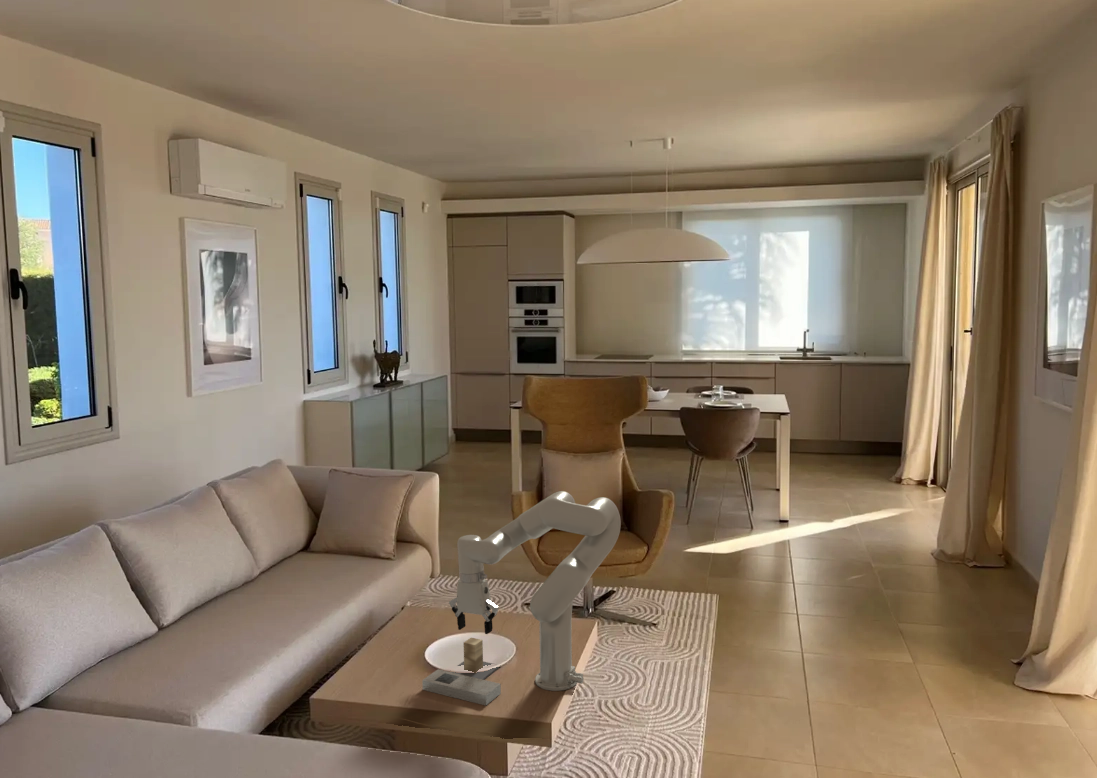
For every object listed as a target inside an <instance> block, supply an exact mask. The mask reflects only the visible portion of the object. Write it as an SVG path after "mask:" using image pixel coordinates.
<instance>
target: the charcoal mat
mask: <svg viewBox="0 0 1097 778" xmlns="http://www.w3.org/2000/svg"><path fill="white" fill-rule="evenodd" d="M491 664H494V663H492V662H488V661H487V662H486V661H483V666H485V665H487V666H488V665H491ZM461 665H464V660H463V661H462V662H461V663H459V664H457V666H461ZM498 668H499V667H496V668H492V669H490V670H488V671H484V672H477V673H456V672H455V673H456V674H461V675H465V676H469V677H474V678H478V679H482V680H487V679H488V678H489V677H490V676H491V675H492V674H494V673H495V672H496V671H497V670H499V669H500V668H499V669H498ZM452 673H454V672H452Z"/></svg>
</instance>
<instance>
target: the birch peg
mask: <svg viewBox="0 0 1097 778" xmlns="http://www.w3.org/2000/svg"><path fill="white" fill-rule="evenodd" d="M483 646H484V644H483V639H479V638H474V637H469V638H468V639H467V640H465V641H463V661H464V670H468V671H472V672H474V673H476V672H477V671H478V670H479V669H481V668H483V662H484V659H483V658H484V653H483V652H484V651H483V650H484V649H483Z"/></svg>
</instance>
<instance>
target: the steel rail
mask: <svg viewBox="0 0 1097 778" xmlns="http://www.w3.org/2000/svg"><path fill="white" fill-rule="evenodd" d="M421 684H422V690H423V691H426V692H431V693H433V694H438V695H442V696H446V697H450V698H453V699H457V700H463V701H466V702H469V703H474V704H479V705H483V706H488V705H489V704H490V703H491V702H492V701H493V700H495V699H496V698H497V697H499V696H500V695H501V693H502V692H501V691H502V690H501V689H502V688H501V685H502V684H501V683H499V682H495V681H491V680H487V679H485V680H482V679H478V678H474V677H469V676H465V675H461V674H456V673H452V672H449V671H448V670H443V669H439V668H438V669H436V670H434V671H433V672H432V673H430V674H429V675H428V676H426V677H425V678H423V679H422V683H421Z"/></svg>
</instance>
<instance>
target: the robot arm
mask: <svg viewBox="0 0 1097 778" xmlns="http://www.w3.org/2000/svg"><path fill="white" fill-rule="evenodd" d="M621 523H622V521H621V516H620V511H619V509H618V507H617V505H616V504H615V503H614V501H613V500H611V499H610V498H608V497H603V496H602V497H597V498H594V499H592V500H591V501H590V502H588V503H587V504H586V505H585V504H579V503H576V500H575V498H574V497H573V495H572V494H570V493H569V492H567V491H564V490H560V491H557V492H554V493H551V495H549V496H547V497H546V498H544V499H542V500H540V501H539V502H538V503H537V504H535V505H533V506H532V507H530V508H529V509H527V510H526V511H523V512H522V513H521V514H519V515H518V517H516V518H515V519H513V520H511V521H510V522H508V523H507V524H505V525H504V526H502V527H500V529H498V530H496V531H495V532H493V533H492V534H490V535H489V536H488V537H486V538H483V539H482V538H481V536H479V535H476V534H467V535H466V534H465V535H462V536H460V537H459V538H458V539H457V543H456V545H457V557H458V558H457V561H458V572H459V573H458V574H459V578H458V582H457V586H456V587H457V588H456V597H454V598H453V599H451V600H449V601H448V603H449V605H450V607H451V611H452V612H453V613H454V616H455V617H456V621H457V623H456V624H457V630H459V631H460V630H463V629H464V628H465V627H466V614H465V613H467V614H473V615H479V616H482V617H483V618H484V620H485V621H484V624H483V625H484V626H483V627H484V634H485V635H488V634H489V633H491V632H492V631H493V627H494V626H493V619H494V618H495V617H496V616H497V614H498V611H499V609H500V607H499V606H498V605H496V604H495V603H494V602H492V598H491V592H490V591H491V590H490V587H489V583H488V580H487V579H488V574H486V573H485V567H484V564H485V565H494V564H497V563H499V562H500V561H501V560H502V559H503V558H504V557H505V556H506V555H508V554H509V553H510V552H512V550H514V549H516V548H517V547H518V546H521V544H522V545H523V544H524V543H525V542H527V541H529V540H531V539H533V540H536V539H538V538H540V537H542V536H543V535H545V534H546V533H548V532H549V531H550V530H553V529H555V530H558V531H559V530H560V531H563V532H567V533H572V534H578V535H582V536H584V537H583V538H582V539H581V541H580V542H579V543H578V544H577V546H576V547H575V548H574V549H573V550H572V552H571V553H569V554H568V555H567V556H566V557H565V558H563V560H562V561H561V562H560V563H559V564H558V565H557V566H556V567H555V569H554V570H553V571H552V572H551V574H549V575H548V577H547V579H545V581H544V582H543V583H542V584H541V585H540V587H539V588H538V589H537V591H535V593H534V594H533V595H532V597H531V599H530V604H529V606H530V607H529V608H530V612H531V615H532V616H533V618H534V619H536V620H537V621H538V622H539V669H540V670H539V673H537V674H536V676H535V679H534V682H535V685H536V686H537V687H538V688H541V689H542V690H546V691H551V692H560V691H566V690H570V689H571V688H572V689H573V687H575V686H576V685H577V684H583V683H584V674H583V673H580V672H577V671H576V666H575V665H573V662H572V661H573V657H572V655H573V653H572V652H573V651H572V649H573V647H572V645H573V644H572V617H573V613H572V612H573V604H574V603H573V601H575V599H576V598H577V597H578V595H579V594H580V593H581V592H582V590H583V589H584V588H585V587H586V585H587V584H588V583H589V581H590V579H591V577H592V575H593V574H594V573H595V572H596V570H598V569H597V568H599V567H600V566H601V564H602V563H603V562H604V560H605V559H606V558H607V557H608V555H609V554H610V553H611V551H612V550H613V548H614V547H615V545H616V543H617V541H618V539H619V535H620V533H621V525H622V524H621Z"/></svg>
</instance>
